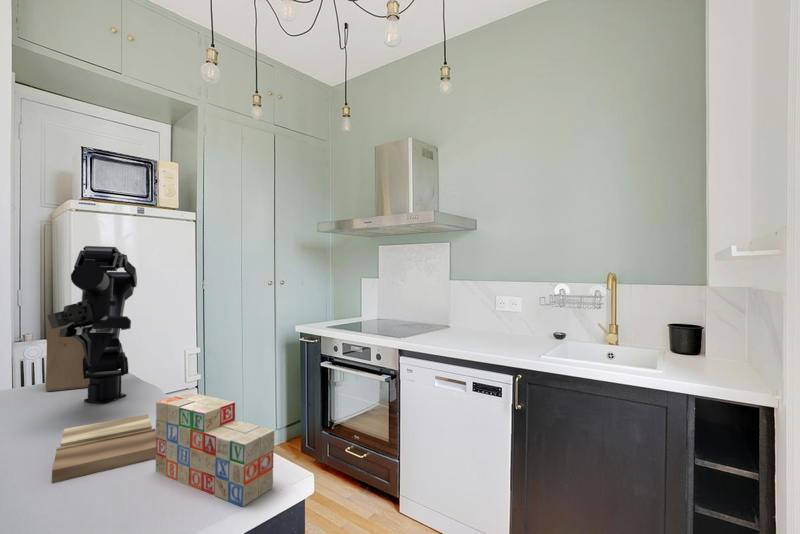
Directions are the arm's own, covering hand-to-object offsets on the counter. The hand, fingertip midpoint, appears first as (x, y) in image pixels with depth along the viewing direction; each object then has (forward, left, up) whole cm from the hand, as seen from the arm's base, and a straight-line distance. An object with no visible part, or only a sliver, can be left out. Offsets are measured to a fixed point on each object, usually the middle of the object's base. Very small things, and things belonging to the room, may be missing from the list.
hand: (91, 365), depth 90 cm
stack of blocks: (+15, +44, -13) cm, 48 cm away
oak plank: (+5, +11, -11) cm, 16 cm away
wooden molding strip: (+14, +21, -12) cm, 28 cm away
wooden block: (-19, -29, -12) cm, 37 cm away
